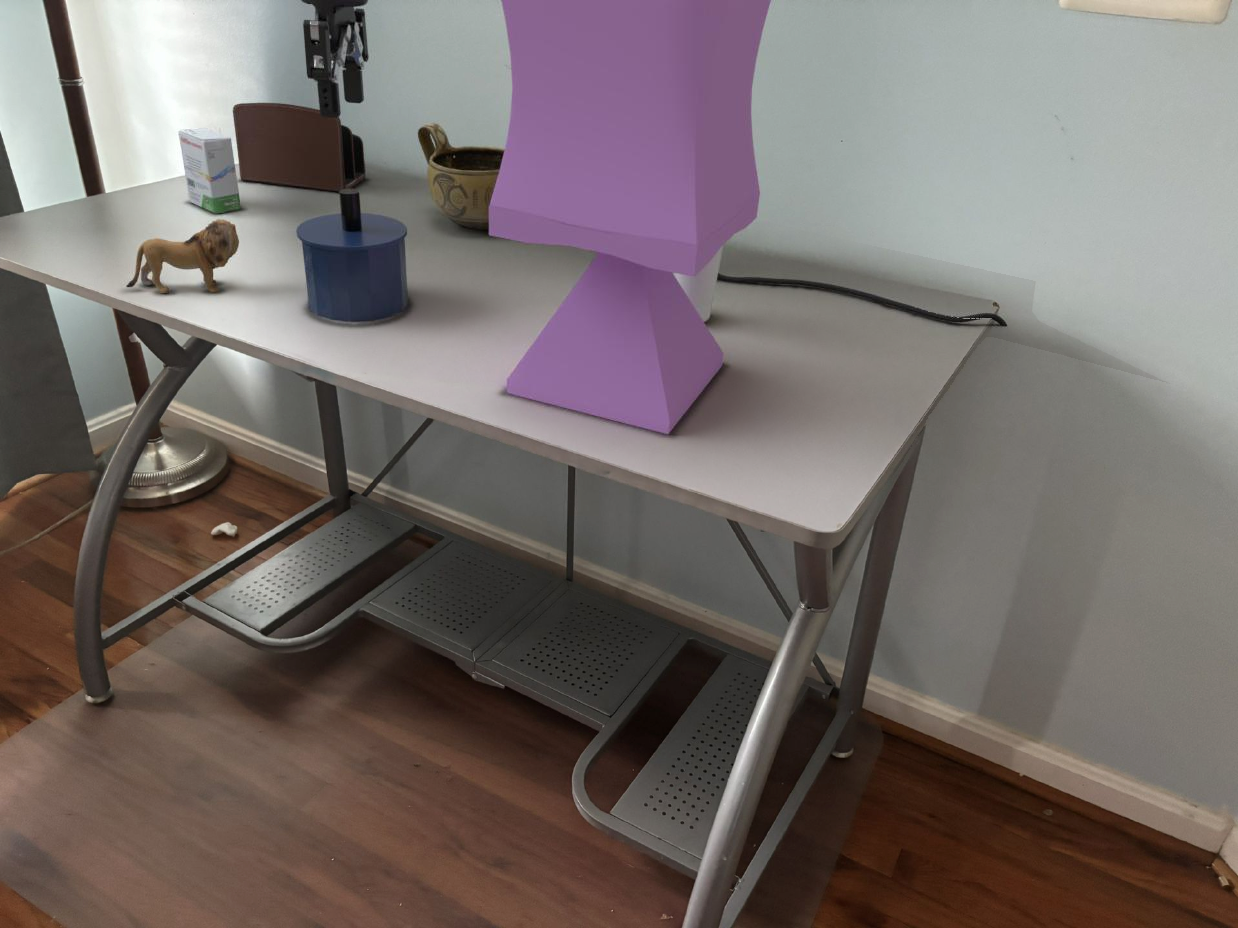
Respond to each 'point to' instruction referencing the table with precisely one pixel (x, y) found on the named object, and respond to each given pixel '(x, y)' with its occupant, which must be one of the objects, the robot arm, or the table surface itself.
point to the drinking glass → (702, 285)
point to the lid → (351, 227)
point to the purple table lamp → (628, 188)
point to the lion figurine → (189, 254)
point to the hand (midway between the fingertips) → (342, 109)
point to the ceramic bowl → (460, 177)
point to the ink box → (210, 170)
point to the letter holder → (296, 147)
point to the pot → (356, 282)
